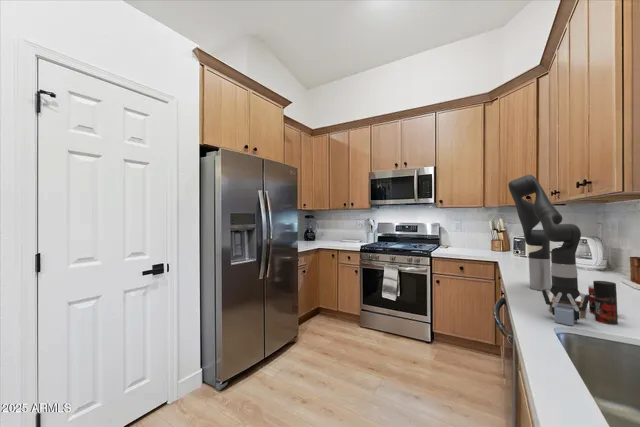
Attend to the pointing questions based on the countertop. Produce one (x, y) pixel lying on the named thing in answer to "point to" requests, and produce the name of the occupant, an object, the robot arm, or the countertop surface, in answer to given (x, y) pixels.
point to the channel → (582, 313)
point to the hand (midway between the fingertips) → (565, 318)
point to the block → (564, 314)
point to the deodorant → (605, 302)
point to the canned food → (592, 298)
